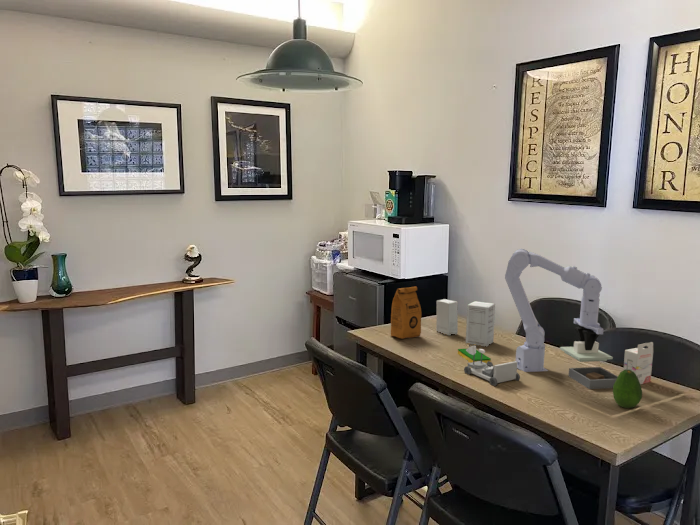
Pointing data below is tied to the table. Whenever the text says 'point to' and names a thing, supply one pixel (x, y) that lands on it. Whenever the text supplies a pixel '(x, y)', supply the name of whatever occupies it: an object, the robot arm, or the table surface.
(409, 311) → the coffee package
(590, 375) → the walnut block
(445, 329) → the skincare box
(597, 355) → the lid
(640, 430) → the table surface
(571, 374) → the storage box
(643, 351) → the ink cartridge box
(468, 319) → the supplement box
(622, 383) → the avocado
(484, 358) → the dish sponge
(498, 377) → the toy car
